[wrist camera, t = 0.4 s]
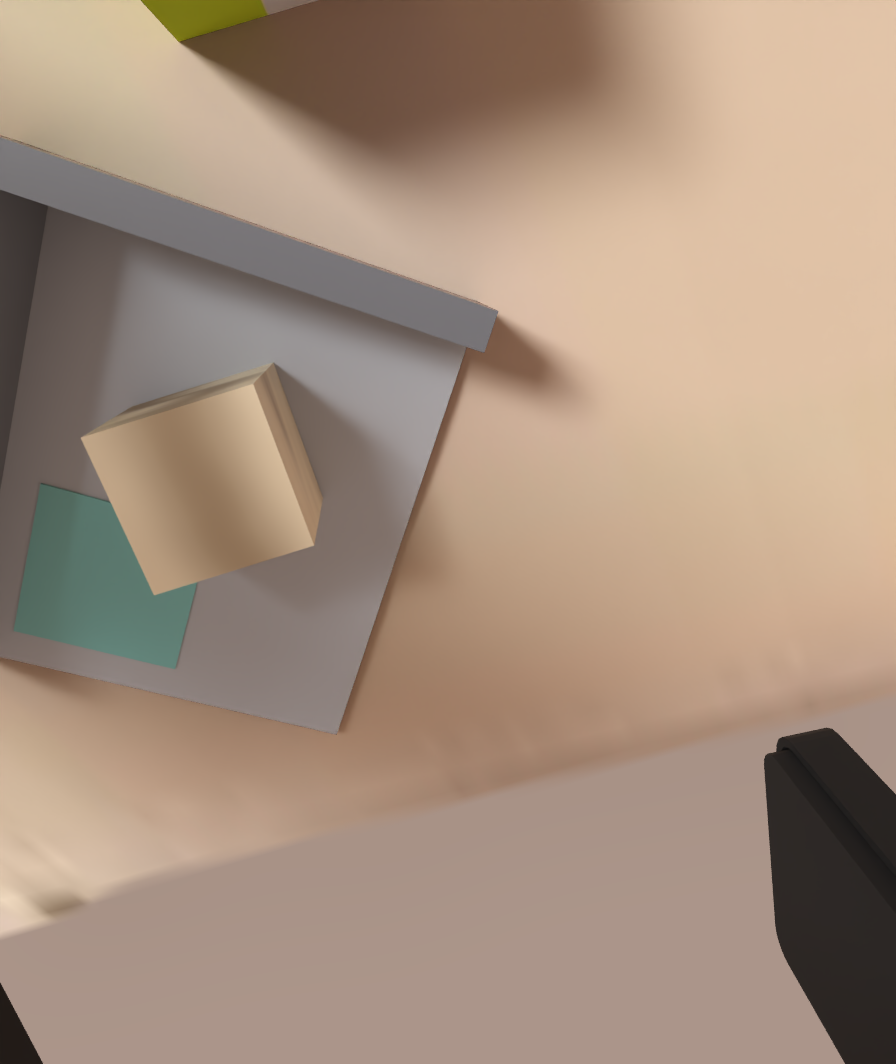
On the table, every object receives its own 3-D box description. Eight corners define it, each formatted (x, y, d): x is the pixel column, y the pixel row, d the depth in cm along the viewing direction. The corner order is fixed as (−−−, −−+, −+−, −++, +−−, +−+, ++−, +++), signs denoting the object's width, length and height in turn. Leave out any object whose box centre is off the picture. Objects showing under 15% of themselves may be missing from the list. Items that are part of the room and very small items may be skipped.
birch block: (189, 539, 34) (154, 595, 28) (131, 406, 32) (80, 437, 26) (323, 498, 34) (314, 545, 28) (273, 362, 32) (253, 383, 26)
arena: (-58, 637, 35) (-124, 697, 30) (19, 141, 29) (-50, 120, 24) (337, 728, 38) (332, 795, 34) (479, 302, 32) (498, 311, 28)
